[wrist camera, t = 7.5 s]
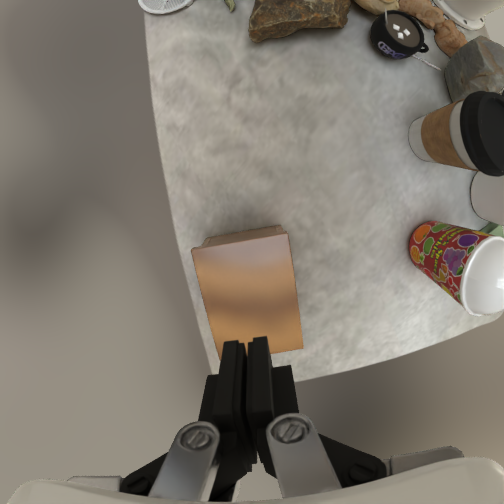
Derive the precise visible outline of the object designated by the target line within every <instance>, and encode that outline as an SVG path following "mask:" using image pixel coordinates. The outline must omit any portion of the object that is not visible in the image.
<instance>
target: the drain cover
mask: <svg viewBox="0 0 504 504" xmlns="http://www.w3.org/2000/svg"><path fill="white" fill-rule="evenodd" d="M179 1H180V3H181V4H179ZM179 1H178V0H177V3H178V6H177V4H176V1H175V0H174V2H175V5H176V7H175V6H174V3H173V1H172V0H171V2H172V5H173V7H174V8H172V6H171V3H170V1H169V0H168V2H169V4H170V7H171V9H170V8H169V5H168V3H167V1H166V0H161V1H160V0H139V4H140V6H141V8H142V9H143V10H145V11H146V12H149V13H153V14H165V13H170V12H173V11H176V10H178V9H181V8H182V7H184V6H186V5H187V6H190V5H191V4H192V3H193V0H185V1H184V0H182V1H183V3H182V1H181V0H179ZM165 2H166V4H167V7H168V9H167V7H166V5H165ZM162 3H163V4H162ZM161 4H162V5H161ZM160 5H161V6H160ZM159 6H160V7H159ZM164 6H165V9H166V10H164ZM158 7H159V8H158ZM157 8H158V9H157ZM156 9H157V10H156Z"/></svg>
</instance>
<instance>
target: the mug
mask: <svg viewBox="0 0 504 504" xmlns="http://www.w3.org/2000/svg"><path fill="white" fill-rule="evenodd" d="M371 39H372V42H373V44H374V46H375V47H376V48H377V49H378V51H380V52H381V53H382V54H384V55H385V56H387V57H390V58H393V59H404V58H408V57H410V56H414V57H415V58H416V55H414V54H415V53H416V52H421V53H425V52H427V51H428V50H429V48H428V46H427V45H426V44H425V43H424V34H423V31H422V29H421V27H420V26H419V24H418V23H417V22H416V21H415V20H414V19H413V18H412V17H411V16H410V15H408V14H406V13H404V12H402V11H398V10H388V11H386V8H385V12H383V13H382V14H380V15H379V17H378V18H377V19H376V20H375V21H374V22H373V24H372V27H371ZM422 46H423V47H424V48H425V49H421V47H422ZM418 58H419V57H417V59H418ZM419 60H421V58H419ZM422 62H425V63H426V64H428V65H430V66H432V67H435V65H433V64H430V63H429V62H426V60H425V59H424V60H422ZM435 69H438V70H439V71H440V70H441V68H438V67H435Z"/></svg>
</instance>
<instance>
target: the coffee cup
mask: <svg viewBox="0 0 504 504" xmlns="http://www.w3.org/2000/svg"><path fill="white" fill-rule="evenodd" d="M408 137H409V143H410V146H411V148H412V150H413V152H414V153H415V154H416V155H417V156H418V157H419V158H420V159H422V160H424V161H428V162H435V163H441V164H445V165H450V166H455V167H459V168H464V169H468V170H473V171H481V172H482V173H484V174H486V175H488V176H494V177H500V176H503V175H504V97H503V96H501V95H500V94H498V93H495V92H486V91H477V92H474V93H471V94H469V95H468V96H467V97H466V98H465V99H461V100H458V101H456V102H454V103H452V104H449V105H447V106H445V107H443V108H440V109H438V110H436V111H434V112H432V113H429V114H428V115H425V116H423V117H420V118H418V119H416V120H415V121H413V123H412V124H411V126H410V128H409V135H408Z"/></svg>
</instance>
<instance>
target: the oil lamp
mask: <svg viewBox="0 0 504 504" xmlns="http://www.w3.org/2000/svg"><path fill="white" fill-rule="evenodd" d="M354 1H355V2H356V3H357V4H358V5H360V6H361V7H362V8H364V9H365V10H367V11H369V12H371V13H373V14H376V15H380V14H382V13H383V12H385V8H386V11H388V10H398V9H399V3H398V2H397V0H354Z"/></svg>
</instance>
